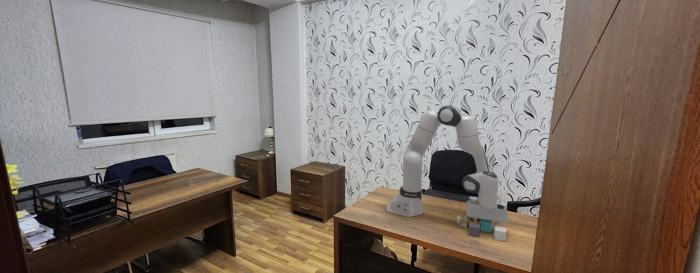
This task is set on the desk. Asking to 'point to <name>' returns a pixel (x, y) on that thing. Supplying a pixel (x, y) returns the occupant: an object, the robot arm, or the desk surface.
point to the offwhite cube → (500, 233)
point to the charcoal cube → (474, 229)
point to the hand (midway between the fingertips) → (485, 226)
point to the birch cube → (461, 221)
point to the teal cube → (485, 225)
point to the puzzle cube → (473, 200)
